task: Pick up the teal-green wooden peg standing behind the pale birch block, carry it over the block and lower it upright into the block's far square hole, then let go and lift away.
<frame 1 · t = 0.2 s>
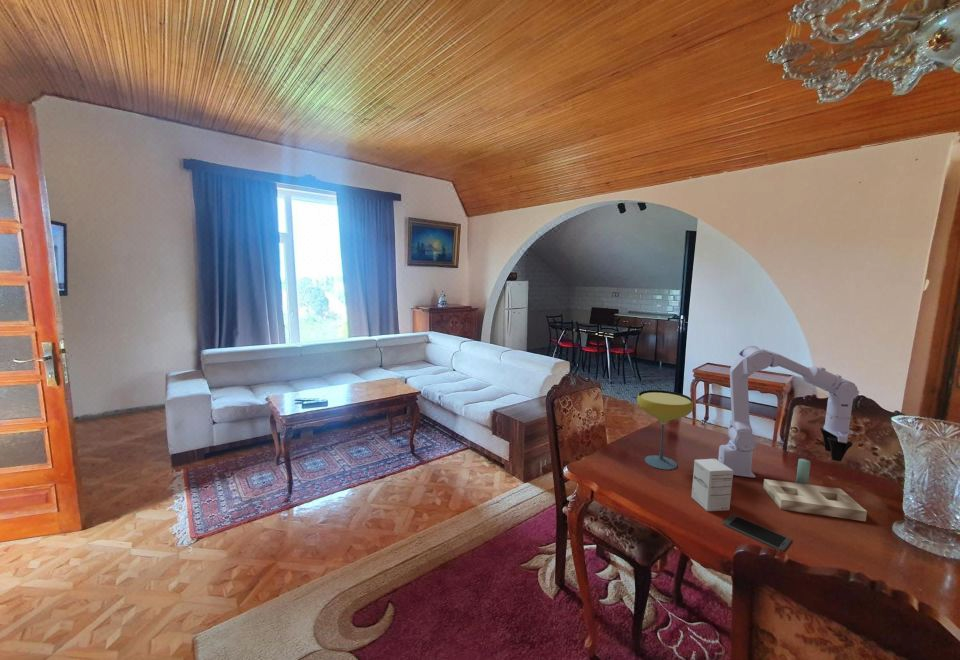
hand: (832, 455, 123), 10 cm above the table, tool pointing down, fingers open, 7 cm apart
cell phone: (755, 534, 101), on the table
supplement box: (709, 504, 114), on the table
cocktail glass: (660, 463, 139), on the table
peg: (801, 487, 123), on the table
hole block: (810, 503, 114), on the table
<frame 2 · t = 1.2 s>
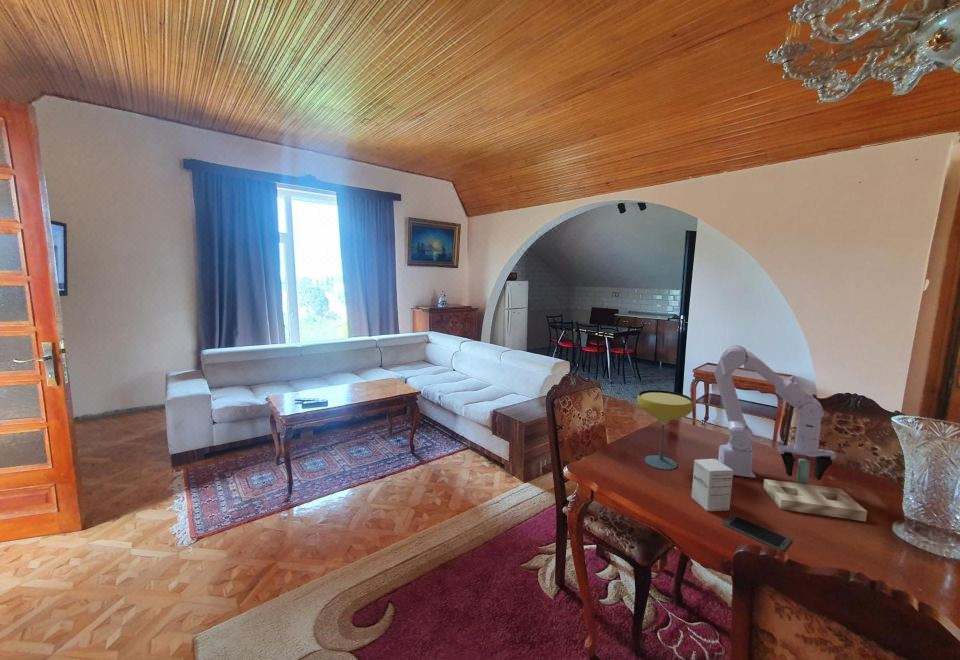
hand: (803, 476, 122), 4 cm above the table, tool pointing down, fingers open, 7 cm apart
nothing on the table moved.
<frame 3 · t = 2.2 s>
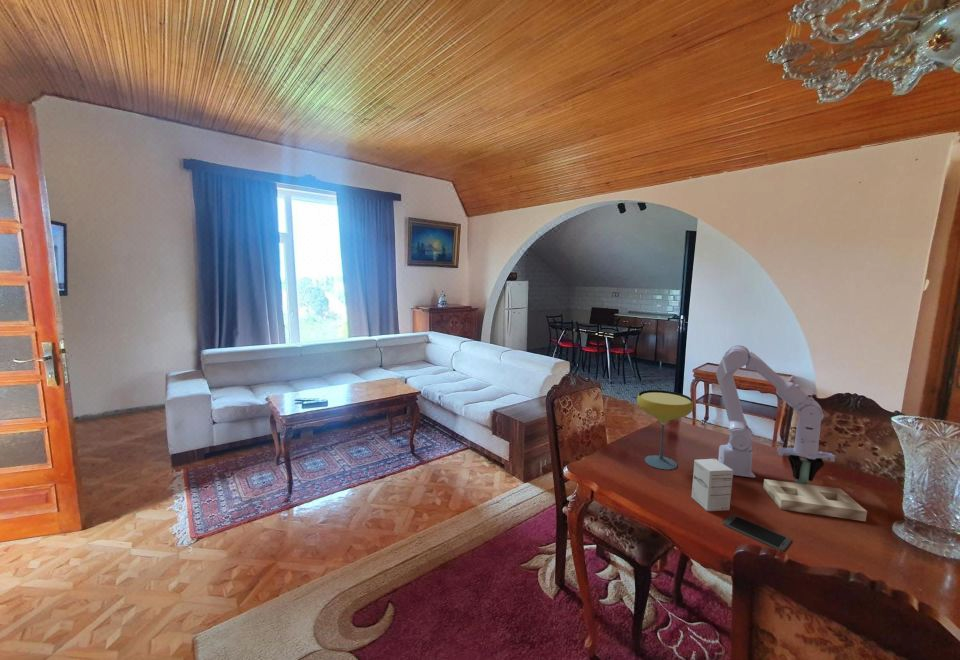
hand: (802, 478, 122), 3 cm above the table, tool pointing down, fingers closed on peg, 3 cm apart
peg: (801, 487, 123), on the table, touching gripper
everything else where it was.
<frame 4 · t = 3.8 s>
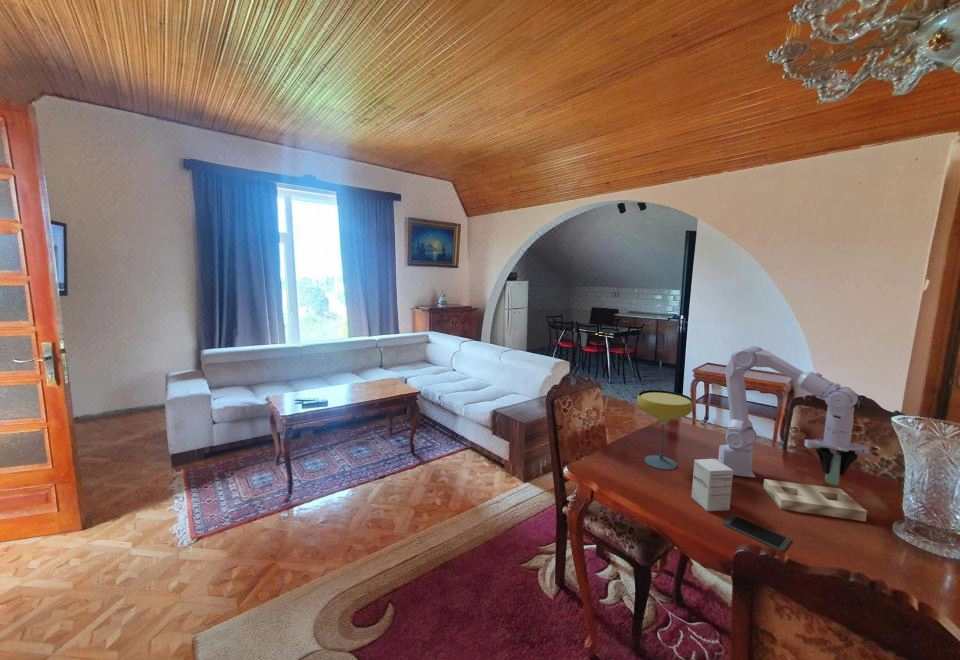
hand: (832, 473, 112), 10 cm above the table, tool pointing down, fingers closed on peg, 3 cm apart
peg: (831, 482, 112), point 7 cm above the table, touching gripper
everything else where it was.
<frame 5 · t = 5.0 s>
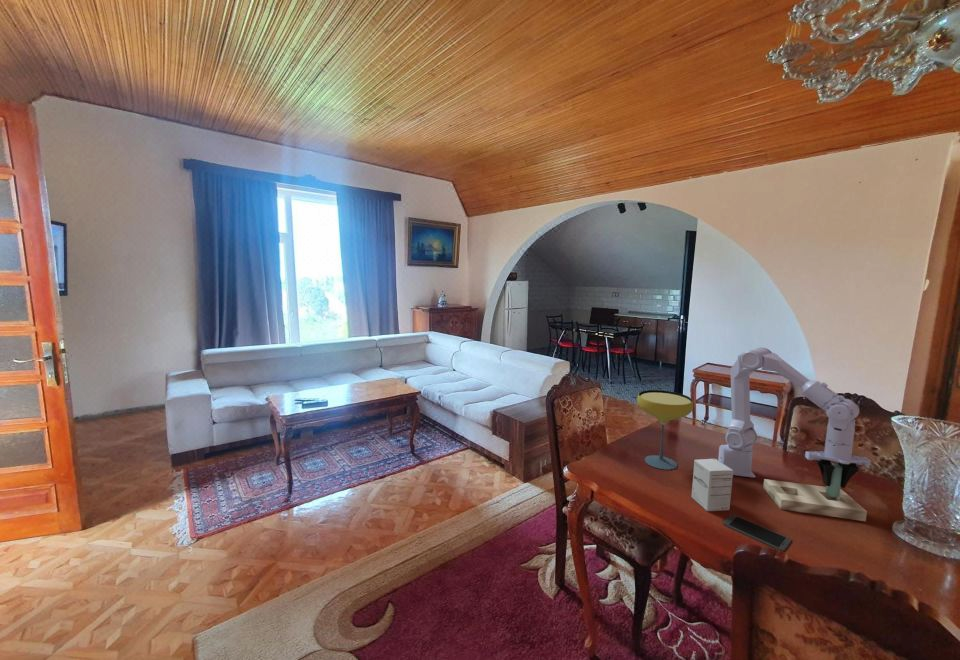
hand: (833, 485, 111), 7 cm above the table, tool pointing down, fingers closed on peg, 3 cm apart
peg: (832, 494, 112), point 4 cm above the table, touching gripper
everything else where it was.
when the fingers open (4 cm above the table, at t = 5.8 s): peg drops 1 cm, resting in hole block.
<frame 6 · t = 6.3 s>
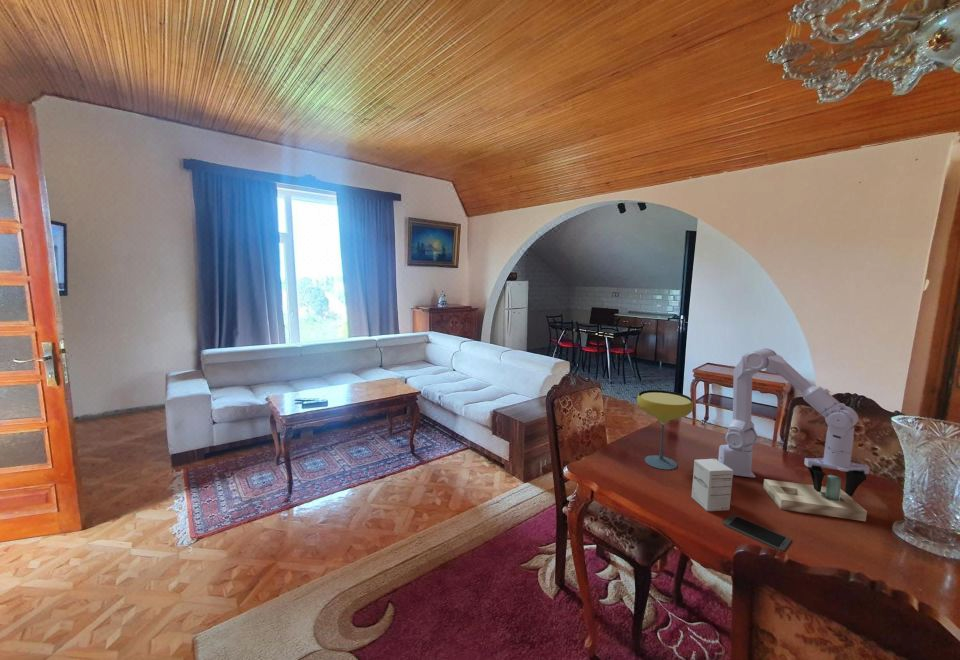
hand: (832, 492, 112), 4 cm above the table, tool pointing down, fingers open, 7 cm apart
peg: (830, 505, 112), resting in hole block
everything else where it was.
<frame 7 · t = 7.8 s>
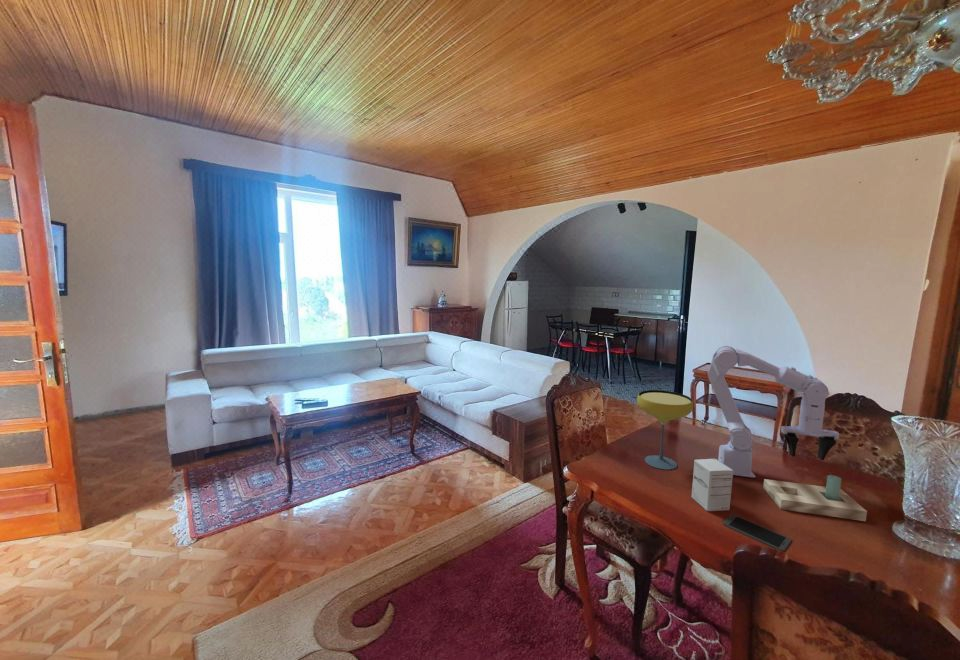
hand: (806, 456, 122), 10 cm above the table, tool pointing down, fingers open, 7 cm apart
nothing on the table moved.
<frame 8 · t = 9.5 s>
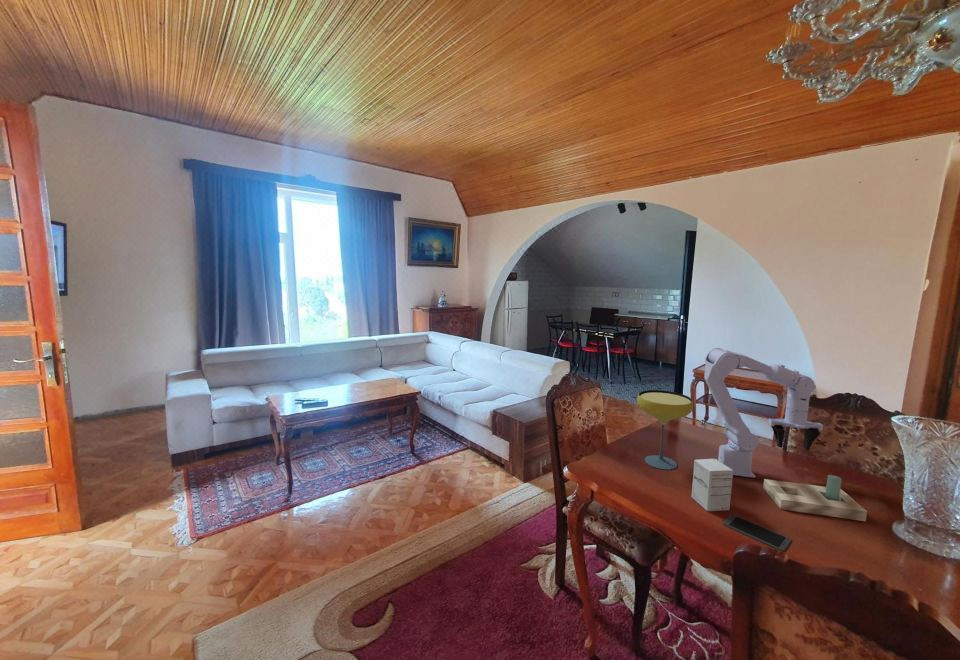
hand: (792, 447, 129), 10 cm above the table, tool pointing down, fingers open, 7 cm apart
nothing on the table moved.
at the end: peg 0.1 cm from the target spot on the hole block, point 0.0 cm above the hole block's base; peg tilted 0°; the gripper is holding nothing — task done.
